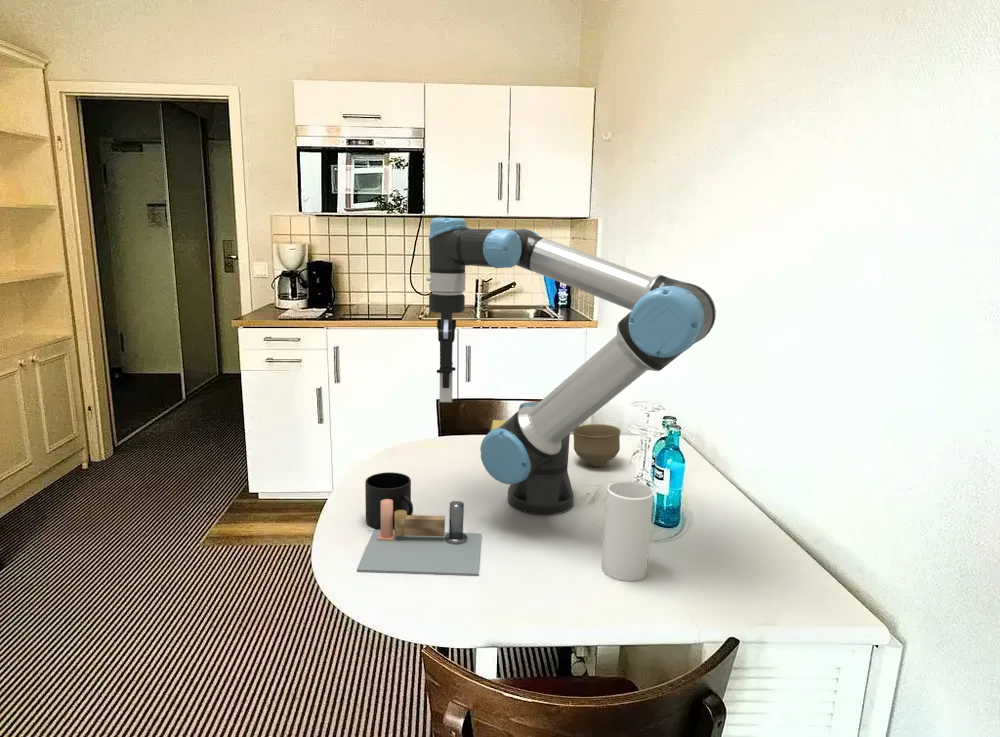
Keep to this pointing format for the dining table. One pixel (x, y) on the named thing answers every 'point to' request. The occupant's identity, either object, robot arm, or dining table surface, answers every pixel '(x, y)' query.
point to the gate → (418, 524)
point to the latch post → (386, 521)
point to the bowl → (596, 443)
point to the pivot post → (456, 524)
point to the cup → (627, 530)
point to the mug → (387, 495)
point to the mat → (422, 555)
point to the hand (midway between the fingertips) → (445, 401)
